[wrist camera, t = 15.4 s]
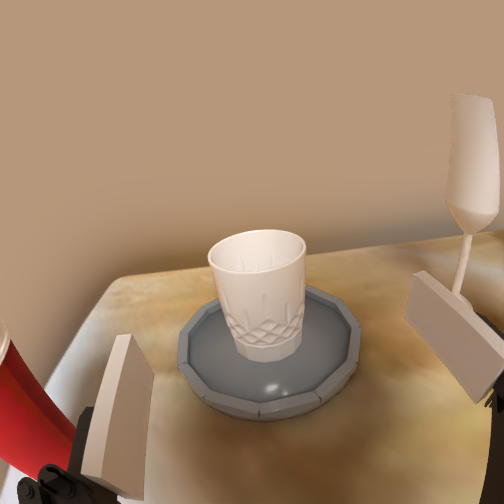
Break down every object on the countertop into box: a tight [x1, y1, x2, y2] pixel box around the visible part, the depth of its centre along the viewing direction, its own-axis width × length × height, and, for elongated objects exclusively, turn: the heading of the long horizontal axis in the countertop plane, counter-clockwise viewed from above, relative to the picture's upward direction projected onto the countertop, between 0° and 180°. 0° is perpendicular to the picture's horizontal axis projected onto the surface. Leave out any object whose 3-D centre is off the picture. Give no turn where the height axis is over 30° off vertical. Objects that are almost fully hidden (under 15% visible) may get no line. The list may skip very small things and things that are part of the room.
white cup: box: [208, 230, 306, 363], centre depth 24 cm, size 8×8×10 cm
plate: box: [177, 285, 362, 421], centre depth 26 cm, size 18×18×2 cm
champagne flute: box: [445, 94, 500, 311], centre depth 21 cm, size 7×7×24 cm
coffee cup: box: [0, 319, 77, 480], centre depth 9 cm, size 8×8×15 cm
